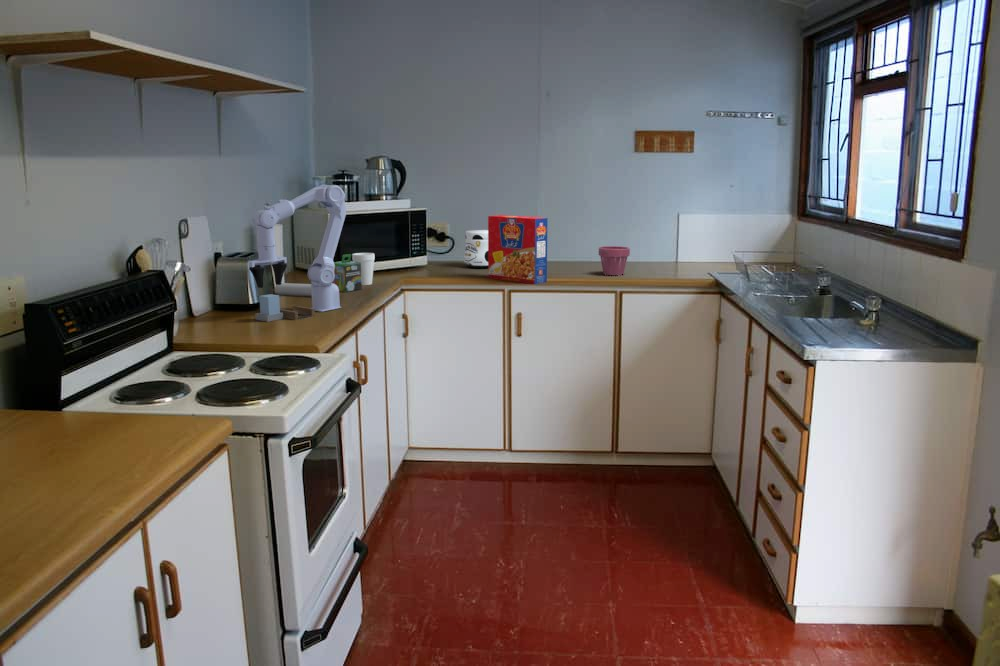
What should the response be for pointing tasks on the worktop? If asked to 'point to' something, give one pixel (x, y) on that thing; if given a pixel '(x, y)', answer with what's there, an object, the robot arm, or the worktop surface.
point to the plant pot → (613, 259)
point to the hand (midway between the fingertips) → (269, 286)
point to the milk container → (476, 248)
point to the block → (269, 304)
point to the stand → (268, 317)
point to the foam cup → (365, 266)
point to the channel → (298, 312)
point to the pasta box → (517, 248)
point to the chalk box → (347, 275)
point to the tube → (294, 289)
